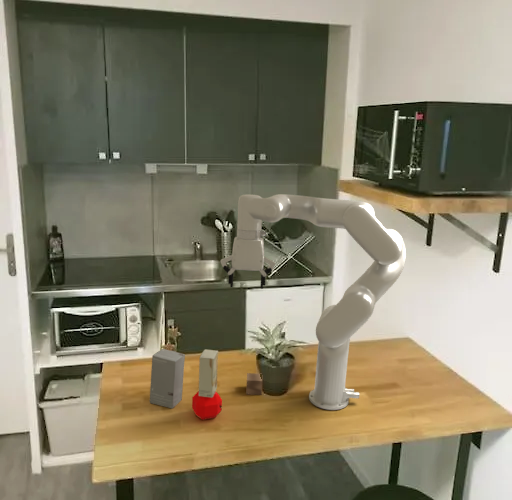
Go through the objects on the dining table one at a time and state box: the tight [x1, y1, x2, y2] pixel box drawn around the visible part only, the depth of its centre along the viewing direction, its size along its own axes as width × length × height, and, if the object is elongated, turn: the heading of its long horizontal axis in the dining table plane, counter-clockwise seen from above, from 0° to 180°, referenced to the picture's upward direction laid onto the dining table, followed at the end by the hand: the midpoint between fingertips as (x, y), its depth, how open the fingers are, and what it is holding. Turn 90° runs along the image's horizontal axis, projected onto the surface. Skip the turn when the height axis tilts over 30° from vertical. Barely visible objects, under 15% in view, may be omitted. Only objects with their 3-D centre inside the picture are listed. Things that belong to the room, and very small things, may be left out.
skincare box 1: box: [149, 348, 186, 409], centre depth 161 cm, size 8×7×16 cm
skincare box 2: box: [198, 349, 219, 397], centre depth 153 cm, size 6×4×12 cm
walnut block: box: [245, 372, 263, 396], centre depth 171 cm, size 5×5×5 cm
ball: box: [191, 390, 223, 421], centre depth 155 cm, size 8×8×8 cm
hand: (246, 286), depth 168 cm, fingers open, 9 cm apart
